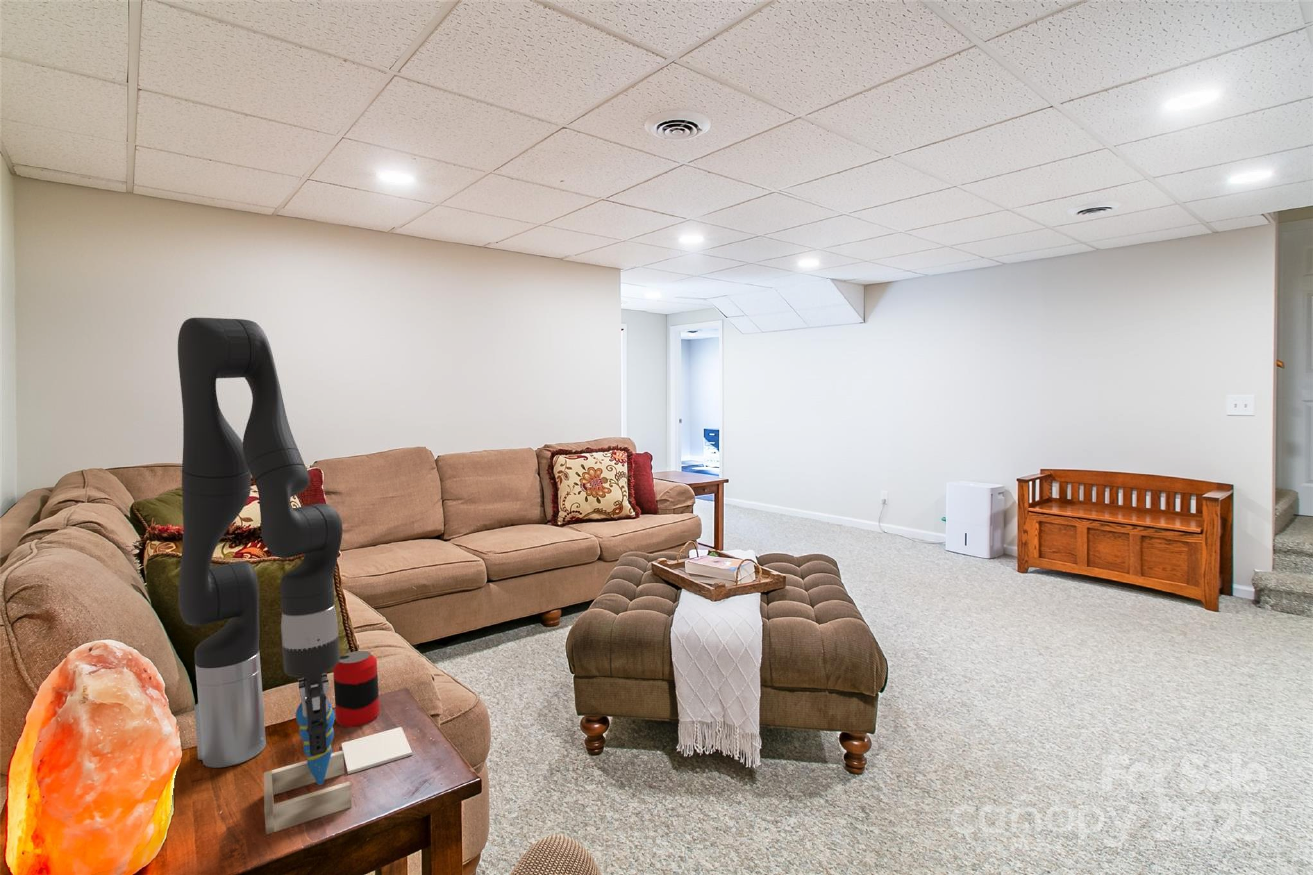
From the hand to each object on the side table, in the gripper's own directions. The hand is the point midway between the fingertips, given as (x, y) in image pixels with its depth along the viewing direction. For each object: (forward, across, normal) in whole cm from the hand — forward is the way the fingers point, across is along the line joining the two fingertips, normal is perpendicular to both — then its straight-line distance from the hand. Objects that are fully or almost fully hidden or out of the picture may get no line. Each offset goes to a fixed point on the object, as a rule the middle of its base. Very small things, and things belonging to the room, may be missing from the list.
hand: (317, 744), depth 98 cm
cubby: (+8, 0, +2) cm, 9 cm away
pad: (+8, +9, -9) cm, 15 cm away
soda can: (+9, +24, -8) cm, 26 cm away
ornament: (+7, 0, 0) cm, 7 cm away
